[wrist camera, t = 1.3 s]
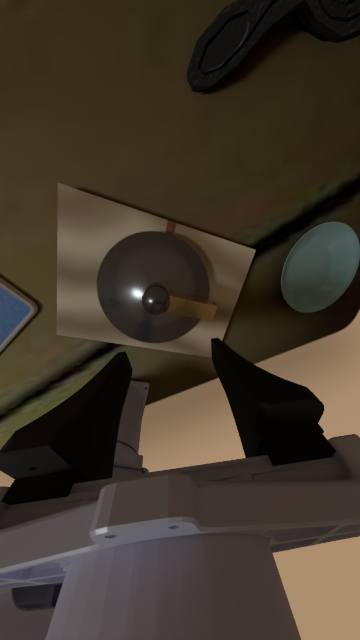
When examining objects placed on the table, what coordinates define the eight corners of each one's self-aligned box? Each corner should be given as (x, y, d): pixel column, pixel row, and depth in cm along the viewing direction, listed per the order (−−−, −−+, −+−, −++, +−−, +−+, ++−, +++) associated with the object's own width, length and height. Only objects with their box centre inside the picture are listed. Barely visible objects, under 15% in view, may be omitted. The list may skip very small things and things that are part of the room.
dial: (95, 330, 19) (75, 351, 14) (105, 215, 15) (83, 193, 11) (191, 346, 22) (200, 367, 17) (220, 252, 18) (242, 247, 13)
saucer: (255, 272, 21) (266, 273, 19) (323, 204, 20) (343, 197, 18) (292, 322, 25) (305, 327, 23) (351, 269, 24) (371, 269, 22)
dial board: (212, 352, 25) (216, 359, 23) (63, 329, 20) (55, 335, 19) (249, 251, 20) (257, 249, 19) (66, 190, 16) (55, 181, 14)
